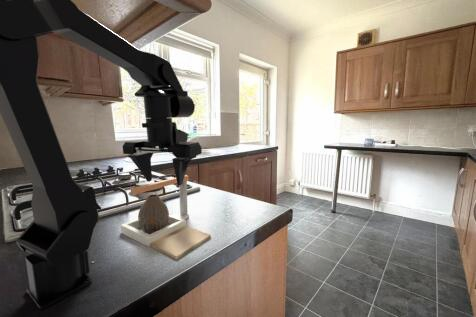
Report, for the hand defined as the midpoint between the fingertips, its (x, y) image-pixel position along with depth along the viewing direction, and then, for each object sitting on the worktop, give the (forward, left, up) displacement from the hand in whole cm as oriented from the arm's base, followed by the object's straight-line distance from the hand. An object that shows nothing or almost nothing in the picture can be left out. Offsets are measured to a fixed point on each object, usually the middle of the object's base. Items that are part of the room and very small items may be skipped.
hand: (164, 183), depth 53 cm
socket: (0, +1, -11) cm, 11 cm away
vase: (-3, +1, -12) cm, 12 cm away
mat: (-3, -8, -11) cm, 14 cm away
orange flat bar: (0, +1, -1) cm, 1 cm away
